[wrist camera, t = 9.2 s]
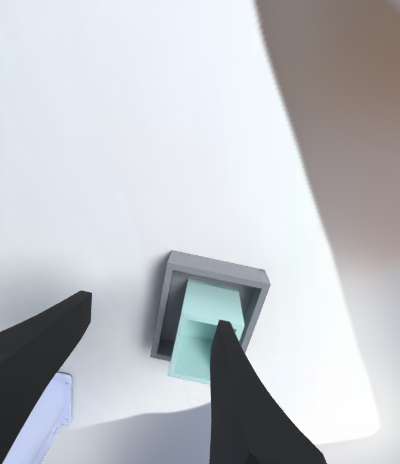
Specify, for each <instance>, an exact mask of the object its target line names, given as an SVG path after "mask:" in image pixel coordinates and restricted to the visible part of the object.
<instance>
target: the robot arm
mask: <svg viewBox="0 0 400 464" xmlns="http://www.w3.org/2000/svg"><path fill="white" fill-rule="evenodd" d="M91 302H92V293H91V292H86V291H79V292H78V293H76V294H74V295H72V296H70V297H69V298H67V299H65V300H63V301H62V302H60V303H58V304H56V305H55V306H53V307H51V308H49V309H47V310H46V311H44V312H42V313H40V314H38V315H36V316H34V317H32V318H30V319H28V320H26V321H24V322H22V323H20V324H17V325H15V326H13V327H11V328H8V329H6V330H4V331H1V332H0V464H41V462H42V460H43V458H44V456H45V455H46V453H47V451H48V449H49V447H50V445H51V444H52V442H53V440H54V438H55V436H56V435H57V433H58V431H59V429H60V427H61V425H65V426H68V425H70V423H71V405H72V377H71V376H70V375H67V374H62V373H57V372H58V370H59V369H60V367H61V366H62V365H63V363H64V362H65V361H66V359H67V358H68V356H69V355H70V354H71V352H72V351H73V350H74V348H75V347H76V345H77V344H78V343H79V341H80V340H81V338H82V336H83V335H84V333H85V331H86V329H87V327H88V326H89V324H90V322H91ZM210 386H211V413H212V415H211V416H212V417H211V418H212V421H211V422H212V423H211V444H210V463H209V464H327V463H326V460H325V458H324V456H323V454H322V453H321V452H320V451H319V450H318V449H317V448H316V446H315V445H314V444H313V443H312V442H311V441H310V440H309V439H308V438H307V437H306V436H305V435H304V434H303V433H302V432H301V431H300V430H299V429H298V428H297V427H296V426H295V424H294V423H293V422H292V421H291V420H290V419H289V418H288V417H287V415H286V414H285V413H284V412H283V410H282V409H281V408H280V407H279V405H278V404H277V403H276V402H275V400H274V399H273V398H272V396H271V395H270V394H269V392H268V391H267V389H266V388H265V387H264V385H263V384H262V382H261V381H260V379H259V377H258V376H257V374H256V373H255V371H254V369H253V367H252V366H251V364H250V362H249V360H248V358H247V357H246V355H245V353H244V351H243V349H242V347H241V345H240V343H239V340H238V338H237V336H236V334H235V331H234V329H233V327H232V324H231V322H230V321H225V320H220V319H219V322H218V325H217V329H216V332H215V335H214V339H213V342H212V345H211V355H210Z"/></svg>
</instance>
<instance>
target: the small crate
mask: <svg viewBox="0 0 400 464" xmlns="http://www.w3.org/2000/svg"><path fill="white" fill-rule="evenodd" d="M219 319H220V320H225V321H230V322H231V324H232V327H233V329H234V331H235V334H236V336H237V338H238V340H239V341H240V338H241V335H242V332H243V329H244V326H245V325H244V319H243V314H242V308H241V302H240V297H239V291H238V289H236V288H232V287H227V286H222V285H217V284H212V283H208V282H203V281H198V280H193V279H189V278H188V282H187V287H186V291H185V296H184V300H183V305H182V310H181V314H180V319H179V323H178V328H177V333H176V338H175V343H174V348H173V352H172V357H171V362H170V367H169V372H168V376H169V377H174V378H179V379H184V380H189V381H194V382H199V383H204V384H209V385H210V355H211V345H212V342H213V339H214V335H215V332H216V329H217V325H218V322H219Z"/></svg>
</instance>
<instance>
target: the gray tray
mask: <svg viewBox="0 0 400 464" xmlns="http://www.w3.org/2000/svg"><path fill="white" fill-rule="evenodd" d="M188 278H189V279H193V280H198V281H203V282H208V283H212V284H217V285H222V286H227V287H232V288H236V289H238V291H239V297H240V302H241V308H242V314H243V319H244V325H245V326H244V329H243V332H242V335H241V338H240V341H239V343H240V345H241V347H242V349H243V351H244V353H245V352H246V350H247V347H248V344H249V342H250V339H251V336H252V333H253V331H254V328H255V325H256V323H257V320H258V317H259V315H260V312H261V309H262V306H263V304H264V301H265V298H266V296H267V293H268V290H269V288H270V285H271V284H270V282H269V279H268V277H267V275H266V272H265V270H262V269H257V268H252V267H248V266H243V265H238V264H234V263H229V262H224V261H219V260H215V259H210V258H205V257H201V256H196V255H191V254H187V253H182V252H177V251H173V250H172V252H171V254H170V257H169V259H168V261H167V266H166V272H165V277H164V283H163V288H162V294H161V300H160V305H159V311H158V317H157V322H156V328H155V333H154V339H153V345H152V350H151V356H150V357H153V358H158V359H163V360H168V361H171V357H172V352H173V348H174V343H175V338H176V333H177V328H178V323H179V319H180V314H181V310H182V305H183V300H184V296H185V291H186V287H187V282H188Z"/></svg>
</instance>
